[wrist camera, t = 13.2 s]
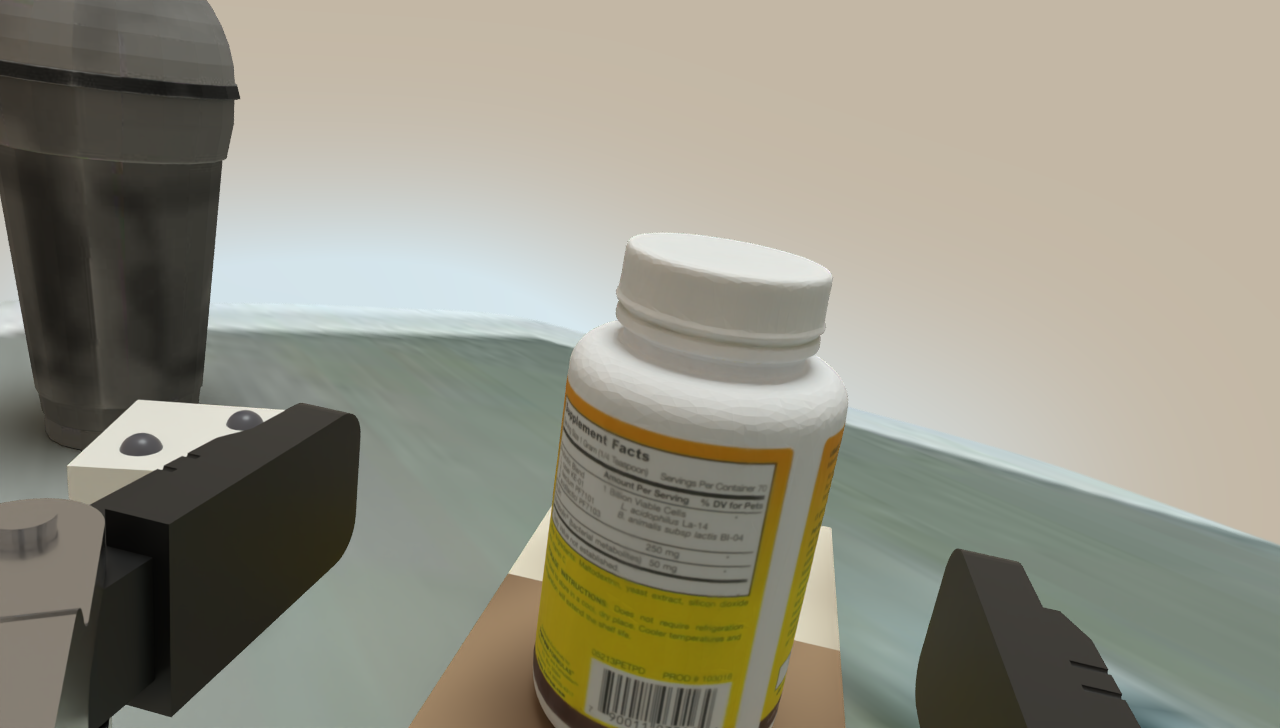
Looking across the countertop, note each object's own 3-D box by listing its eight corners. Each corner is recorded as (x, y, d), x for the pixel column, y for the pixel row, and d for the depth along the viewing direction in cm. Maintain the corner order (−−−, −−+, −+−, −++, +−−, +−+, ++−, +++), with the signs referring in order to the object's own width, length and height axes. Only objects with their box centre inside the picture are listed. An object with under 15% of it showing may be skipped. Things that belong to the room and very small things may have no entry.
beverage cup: (-63, 429, 27) (-143, -303, 21) (136, 374, 34) (117, -198, 28) (108, 492, 25) (71, -300, 19) (284, 419, 32) (297, -187, 26)
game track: (821, 451, 37) (824, 438, 37) (848, 904, 16) (856, 879, 15) (620, 410, 38) (621, 397, 38) (388, 778, 17) (390, 755, 17)
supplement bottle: (680, 605, 23) (750, 228, 20) (825, 746, 19) (944, 292, 16) (486, 653, 20) (534, 216, 17) (605, 835, 16) (700, 292, 12)
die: (295, 541, 24) (299, 398, 23) (260, 626, 21) (262, 462, 19) (142, 535, 23) (137, 387, 22) (76, 622, 20) (65, 450, 18)
